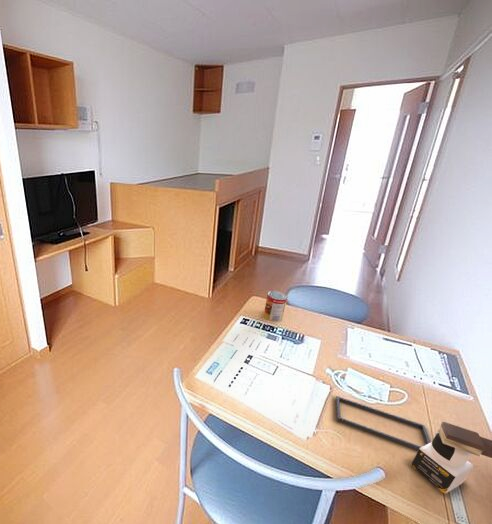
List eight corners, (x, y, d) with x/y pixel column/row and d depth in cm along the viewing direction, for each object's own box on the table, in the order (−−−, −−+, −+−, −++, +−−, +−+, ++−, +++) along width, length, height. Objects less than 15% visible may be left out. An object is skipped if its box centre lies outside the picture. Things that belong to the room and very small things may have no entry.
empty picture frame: (421, 430, 86) (424, 425, 85) (431, 458, 78) (434, 452, 78) (335, 400, 95) (336, 395, 94) (336, 423, 88) (338, 417, 87)
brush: (536, 464, 64) (544, 454, 63) (548, 481, 61) (556, 471, 60) (437, 430, 71) (442, 421, 70) (442, 444, 68) (448, 434, 67)
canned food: (276, 313, 142) (281, 290, 137) (285, 322, 135) (290, 299, 130) (260, 313, 142) (264, 290, 137) (268, 323, 134) (272, 299, 130)
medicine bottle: (409, 467, 76) (426, 433, 71) (426, 457, 78) (445, 424, 74) (443, 496, 70) (465, 461, 65) (461, 484, 72) (484, 450, 68)
